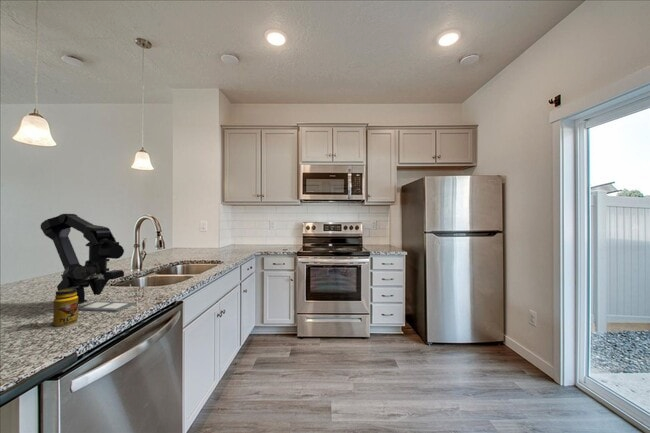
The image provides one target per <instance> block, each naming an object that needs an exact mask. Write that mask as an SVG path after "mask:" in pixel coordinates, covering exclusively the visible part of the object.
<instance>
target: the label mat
mask: <svg viewBox="0 0 650 433" xmlns="http://www.w3.org/2000/svg"><path fill="white" fill-rule="evenodd" d="M134 305H136V302H125V301H123V302H121V301H104V300H103V301H102V300H101V301H100V300H98V301H97V300H96V301H95V300H94V301H93V302H92V301H91V302H90V303H87V304H83V305H80V306H78V311H88V312H89V311H92V312H113V313H114V312H115V313H118V312H120V311H122V310H125V309H127V308H129V307H131V306H134Z"/></svg>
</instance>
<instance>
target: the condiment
mask: <svg viewBox="0 0 650 433" xmlns="http://www.w3.org/2000/svg"><path fill="white" fill-rule="evenodd" d="M78 307H79V304H78V296H77V289H75V288H69V289H62V290H58V289H57V290H56V291H55V298H54V299H53V320H52V321H51V322H50V323H48V324H47V325H46V326H43V327H42V328H40V329H39V330H41V331H42V330H47V329H48V330H51V329H61V328H71V327H73V326H75V325H76V324H78V323H79V322H81V321H82V320H83V319H84V317H82V318H79V316H78V315H79V310H78Z"/></svg>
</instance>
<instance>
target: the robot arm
mask: <svg viewBox="0 0 650 433" xmlns="http://www.w3.org/2000/svg"><path fill="white" fill-rule="evenodd" d="M71 228H73V229H74V230H76V231H78V232H80V233H82V234H83V235H82V236H83V238H84V239H86V240H87V241H88V242H87V243H85V246H86V247H88V260H86V261H85V263H84V265H81V263H80V261H79V259H78V256H77V254H76V251H75V248H74V246H73V244H72V242H71V240H70V238H69V234H70V233H71ZM40 230H42V232H43V235H44V236H45V237H47V238H49V239H50V240H51V241H52V242H53V244H54V247H55V249H56V252H57V254H58V256H59V259H60V262H61V264H62V266H63V268H64V270H63V272H62V275H61V278H62V280H61V281H60V282H59V283H58V284H57V286H56V289H57V291H58V290H62V289H69V288H75V289H77V296H78V305H79V304H83V303H85V302H88V299H86V298H85V294H86V291H85V289H86V288H89V287H90V289H91V292H92V294H93V296H96V295H97V296H99V295H101V294H102V292H103V290H104V289H105V287H106V285H107V283H108V282H109V281H110V280H112V281H113V280H116V279H120V278H123V277H125V272H124V270H123V269H114V270H110V268H108V267H107V266H108V262H110V259H115V260H117V259H120V258H122V256H123V255H124V253H125V249H124V247H123V246H122V245H120V242H119V241H117V240H116V238H115V237H114V234H113V233H112V232H111V229H110V228H109V227H107V226H103V225H95V224H93V223H91V222H89V221H87V219H86V220H85V219H83V218H81V217H79V216H78V215H77V214H75V213H61V214H59V215H58V216H53V217H51V218H48V219H44V221H42V222H41V224H40Z"/></svg>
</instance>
